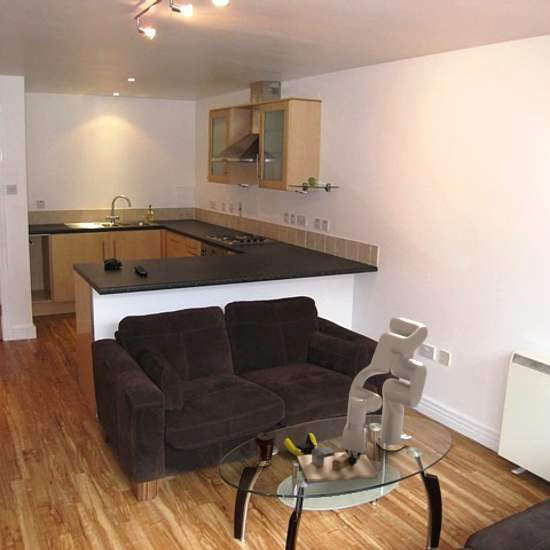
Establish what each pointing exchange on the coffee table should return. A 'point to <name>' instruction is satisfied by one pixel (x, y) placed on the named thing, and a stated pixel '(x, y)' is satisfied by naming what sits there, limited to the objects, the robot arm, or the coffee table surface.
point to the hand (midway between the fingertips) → (352, 464)
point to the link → (341, 461)
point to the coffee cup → (264, 446)
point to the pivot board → (327, 473)
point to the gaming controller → (302, 446)
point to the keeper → (321, 455)
